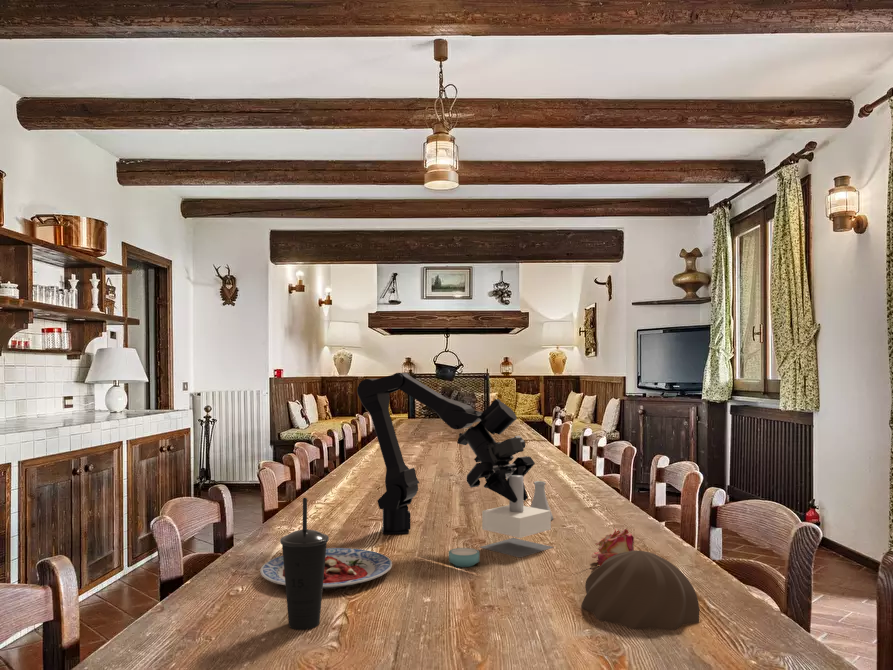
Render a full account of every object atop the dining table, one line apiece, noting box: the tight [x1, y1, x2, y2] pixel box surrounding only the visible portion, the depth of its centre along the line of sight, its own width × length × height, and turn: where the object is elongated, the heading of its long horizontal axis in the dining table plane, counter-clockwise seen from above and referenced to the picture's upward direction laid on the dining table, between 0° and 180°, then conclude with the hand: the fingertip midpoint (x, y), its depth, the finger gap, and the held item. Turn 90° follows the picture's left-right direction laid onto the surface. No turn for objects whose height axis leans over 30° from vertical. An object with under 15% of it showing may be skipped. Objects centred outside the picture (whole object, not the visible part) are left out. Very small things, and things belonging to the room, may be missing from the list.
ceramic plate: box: [259, 547, 393, 590], centre depth 135 cm, size 26×26×3 cm
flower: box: [591, 527, 635, 566], centre depth 139 cm, size 10×9×8 cm
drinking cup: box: [279, 497, 329, 631], centre depth 109 cm, size 8×8×20 cm
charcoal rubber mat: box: [479, 537, 554, 558], centre depth 154 cm, size 12×12×1 cm
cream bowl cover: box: [481, 475, 552, 539], centre depth 154 cm, size 11×11×12 cm
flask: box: [530, 481, 554, 521], centre depth 185 cm, size 7×7×10 cm
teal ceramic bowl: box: [448, 547, 481, 569], centre depth 141 cm, size 6×6×3 cm
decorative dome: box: [581, 549, 701, 631], centre depth 116 cm, size 19×20×10 cm
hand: (521, 500), depth 153 cm, fingers closed on cream bowl cover, 3 cm apart
